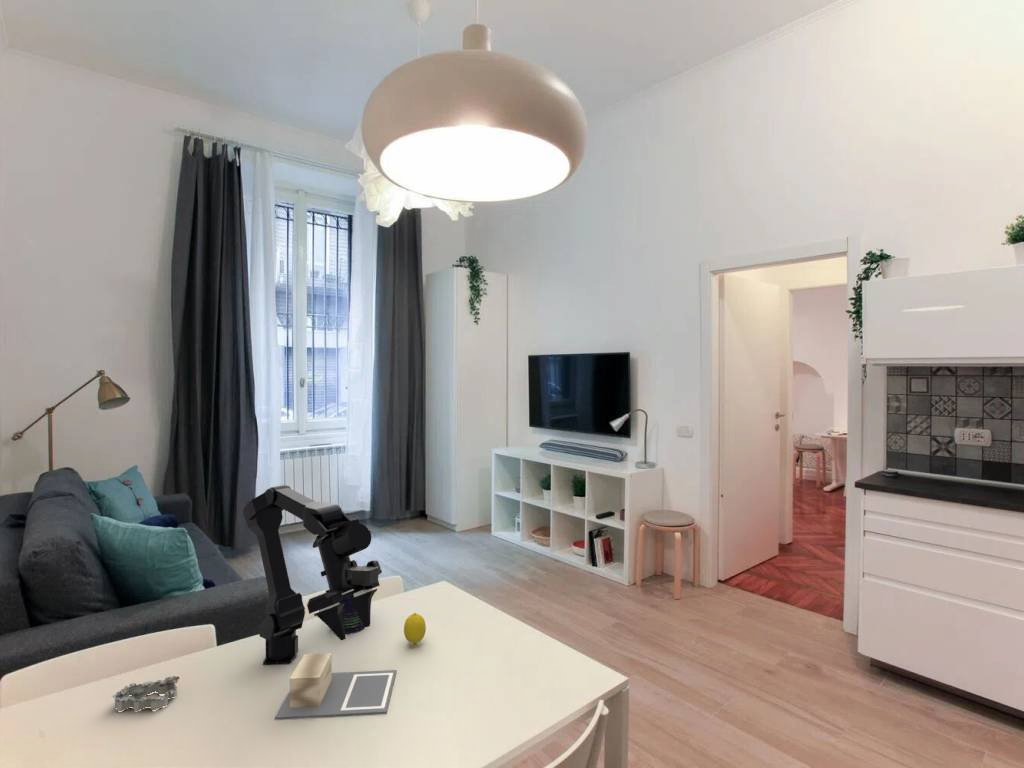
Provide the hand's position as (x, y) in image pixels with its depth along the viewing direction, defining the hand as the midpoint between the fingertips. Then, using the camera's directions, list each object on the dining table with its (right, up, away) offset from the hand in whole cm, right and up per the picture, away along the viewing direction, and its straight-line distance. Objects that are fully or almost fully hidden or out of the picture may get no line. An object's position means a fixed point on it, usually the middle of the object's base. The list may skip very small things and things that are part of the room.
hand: (356, 633), depth 117 cm
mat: (-4, -13, +1) cm, 14 cm away
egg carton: (-43, -14, -2) cm, 46 cm away
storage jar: (-11, -14, +33) cm, 38 cm away
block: (-10, -13, 0) cm, 16 cm away
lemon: (+9, -14, +23) cm, 28 cm away
